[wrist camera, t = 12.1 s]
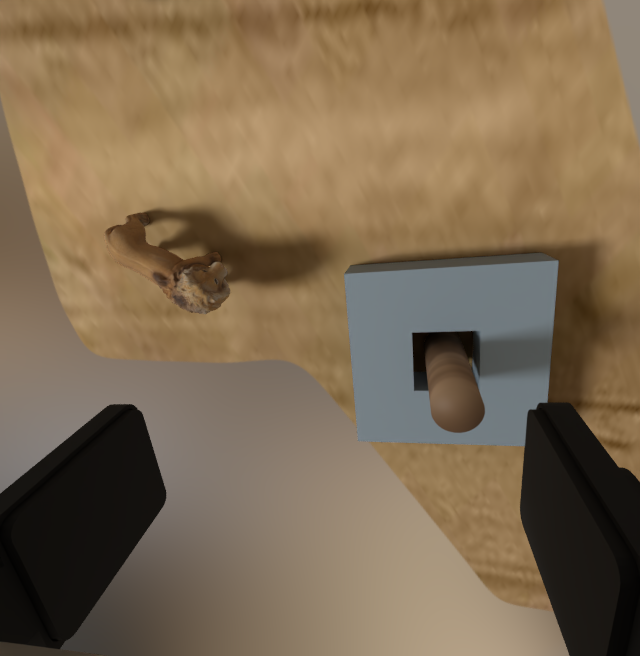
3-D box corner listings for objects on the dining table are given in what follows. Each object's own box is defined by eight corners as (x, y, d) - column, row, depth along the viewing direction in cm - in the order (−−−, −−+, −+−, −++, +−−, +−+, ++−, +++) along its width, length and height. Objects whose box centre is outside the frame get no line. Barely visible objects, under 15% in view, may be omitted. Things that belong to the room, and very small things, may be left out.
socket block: (350, 265, 37) (344, 273, 33) (541, 252, 33) (558, 260, 30) (362, 418, 42) (358, 441, 38) (530, 421, 38) (543, 446, 35)
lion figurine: (260, 255, 38) (220, 273, 30) (247, 305, 40) (206, 335, 32) (123, 203, 40) (47, 207, 31) (116, 254, 42) (43, 271, 33)
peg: (423, 328, 38) (430, 387, 26) (461, 327, 37) (485, 387, 26) (424, 362, 39) (431, 432, 27) (461, 361, 38) (484, 433, 27)
